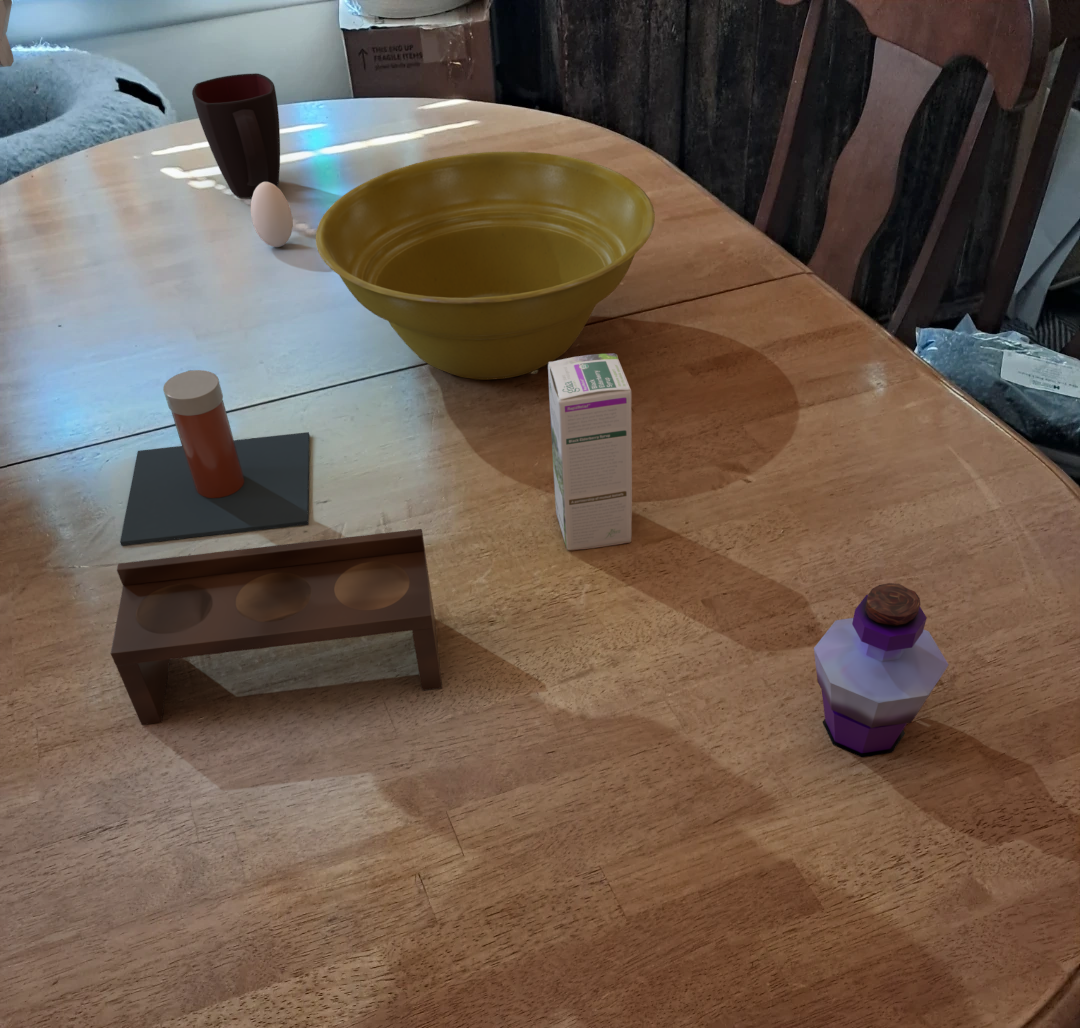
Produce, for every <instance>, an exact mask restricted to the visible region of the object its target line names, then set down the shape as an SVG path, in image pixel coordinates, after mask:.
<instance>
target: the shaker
mask: <svg viewBox="0 0 1080 1028" xmlns="http://www.w3.org/2000/svg"><path fill="white" fill-rule="evenodd" d="M162 390H163V394H164V398H165V400H166V403H167V407H168V409H169V410H170V412H171V414H172V415H171V416H172V419H173V422H174V425H175V428H176V432H177V434H178V437H179V442H180V444H181V446H182V448H183V451H184V454H185V457H186V460H187V464H188V467H189V470H190V473H191V476H192V480H193V483H194V486H195V489H196V491H197V492H198V493H199V494H200V495H201V496H204V497H208V498H221V497H225V496H229V495H231V494H233V493H235V492H237V491H238V490H239V489H240V488H241V487H242V486H243V484H244V475H243V472H242V468H241V464H240V461H239V457H238V453H237V450H236V446H235V442H234V440H235V439H234V435H233V432H232V427H231V425H230V419H229V417H228V414H227V409H226V406H225V403H224V394H223V390H222V387H221V382H220V380H219V377H218V376H217V375H216V374H215V373H213V372H211V371H210V370H209V371H208V370H204V369H203V370H202V369H193V370H187V371H183V372H180V373H177V374H175V375H173V376H172V377H169V379H167V380H166V382H164V385H163V387H162Z"/></svg>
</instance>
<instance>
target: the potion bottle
mask: <svg viewBox="0 0 1080 1028" xmlns="http://www.w3.org/2000/svg"><path fill="white" fill-rule="evenodd" d="M920 598H921V597H920V596H919V595H918V594H917V592H916V591H915V590H912V589H910V588H907V587H906V586H904V585H902V584H901V583H895V582H889V583H883V584H878V585H877V586H874V587H872V588H871V589H870V591H869V593H868V594H866V595H865V596H864V597H863V598H862V600H861V601H860V602H859V603H858V605H857V606H856V608H855V609H854V613H853V617H849V618H842V619H836V620H835V621H833V623H832V624H831V626H830V627H829V628H828V629H827V631H826V632H825V633H824V634H823V636H822V637H821V638H820V640H819V641H818V642H817V643H816V644H815V646H814V647H813V653H814V662H815V671H816V679H817V684H818V686H819V687H820V689H821V696H822V697H821V698H822V705H823V713H824V719H823V721H822V724H823V726H824V729H825V731H826V733H827V735H828V737H829V740H830V741H831V744H832V745H833V746H835V747H837V748H840V749H841V750H845V751H847V752H849V753H850V754H853V755H856V756H858V757H860V758H866V757H873V756H880V755H886V754H893V753H894V751H895V749H896V748H897V746H898V745H899V743H900V742H901V740H902V739H903V737H904V736H905V734H906V732H905V731H904V729H905V727H906V726H907V724H912V723H913V721H914V719H915V718H916V716H917V715H918V713H919V712H920V710H921V709H922V707H923V705H924V704H925V702H926V701H927V700H928V698H929V696H930V695H931V694H932V692H933V690H934V689H935V687H936V686H937V684H938V683H939V681H940V679H941V678H942V676H943V674H944V673H945V672H946V670H947V668H948V667H949V663H948V661H947V659H946V658H945V656H944V655H943V652H942V651H941V650H940V647H939V645H938V644H937V643H936V641H935V639H934V638H933V636H932V634H931V633H930V630H926V629H925V626H926V622H927V616H926V614H925V612H924V611H923V609H922V608H921V604H922V603H921V599H920Z"/></svg>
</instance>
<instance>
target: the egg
mask: <svg viewBox="0 0 1080 1028" xmlns="http://www.w3.org/2000/svg"><path fill="white" fill-rule="evenodd" d="M250 216H251V217H250V218H251V221H252V225H253V227H254V230H255V232H256V234H257V235H258V237H259V238H260V239H261V240H262V241H263V243H265V244H266V245H268V246H270V247H273V248H280V247H283V246H285V244H287V242H288V241H289V239H290V237H291V236H292V232H293V227H294V226H293V225H294V220H293V214H292V210H291V207H290V204H289V201H288V200H287V198H286V196H285V195H284V193H283V192H282V190H281V189H280V188H279V186H278V187H277V186H275V185H274V184H272V183H270V182H262V183H260V184H259V185H258V186H257V187H256V189H255V190H254V193H253V196H252V197H251V202H250Z"/></svg>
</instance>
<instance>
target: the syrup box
mask: <svg viewBox="0 0 1080 1028" xmlns="http://www.w3.org/2000/svg"><path fill="white" fill-rule="evenodd" d="M547 375H548V377H547V378H548V398H549V399H548V401H549V417H550V430H551V431H550V432H551V433H550V434H551V455H552V469H553V471H552V472H553V490H554V503H555V504H554V505H555V506H554V507H555V515H556V518H557V523H558V524H559V528H560V531H561V535H562V539H563V543H564V546H565V549H566V550H567V551H577V550H586V549H595V548H602V547H608V546H616V545H622V544H627V543H628V544H629V543H631V542H632V522H633V521H632V518H633V457H632V456H633V451H632V450H633V449H632V446H633V445H632V444H633V442H632V439H633V438H632V435H633V433H632V431H633V430H632V389H631V386H630V384H629V381H628V379H627V377H626V374H625V372H624V370H623V367H622V364H621V362H620V360H619V357H618V354H617V353H614V352H613V353H595V354H584V355H580V356H579V355H578V356H572V357H568V358H567V357H566V358H563V359H557V360H553V361H551V362H548V364H547Z"/></svg>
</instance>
